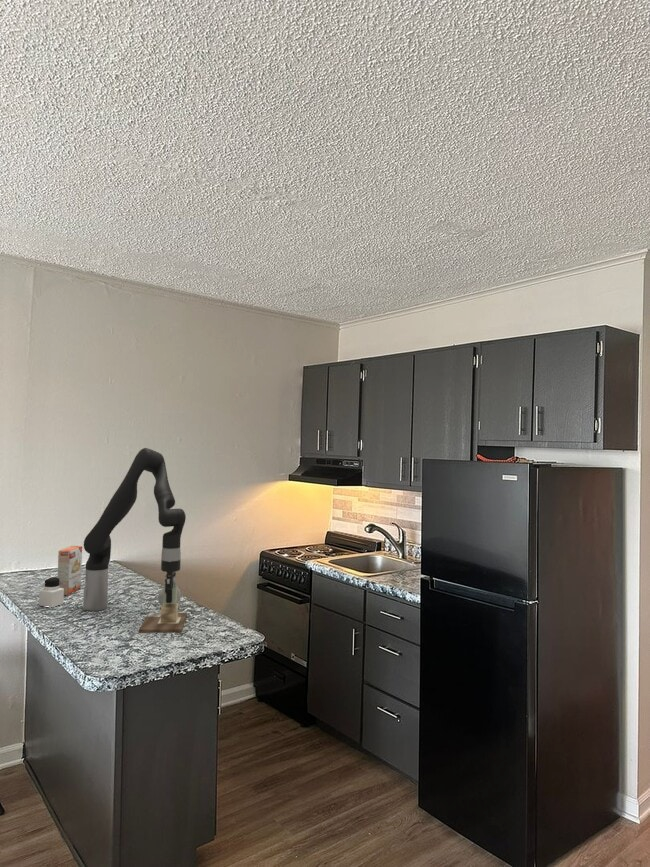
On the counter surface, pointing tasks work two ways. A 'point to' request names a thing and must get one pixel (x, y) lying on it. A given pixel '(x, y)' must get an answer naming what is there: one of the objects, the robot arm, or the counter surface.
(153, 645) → the counter surface
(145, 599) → the counter surface
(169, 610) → the maple block
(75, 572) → the cracker box
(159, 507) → the robot arm
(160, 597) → the donut
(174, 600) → the sage block
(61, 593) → the medicine bottle
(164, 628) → the baseplate
